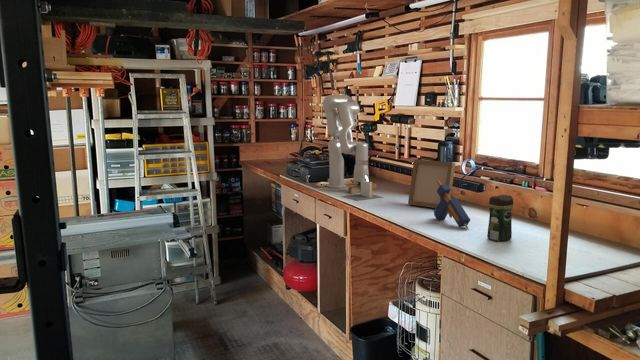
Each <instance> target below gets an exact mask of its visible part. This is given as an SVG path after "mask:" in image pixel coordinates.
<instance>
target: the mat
mask: <svg viewBox="0 0 640 360" xmlns="http://www.w3.org/2000/svg"><path fill="white" fill-rule="evenodd" d="M341 197H342V198H344V199H348V200H350V201H351V200H352V201H355V202H359V201H360V202H361V201H367V200H375V199H383V198H384V196H379V195H377V194H373V193H372V198H369V197H365V196H362V195H361V193H354V194H349V195H341V196H340V198H341Z"/></svg>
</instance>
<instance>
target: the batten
mask: <svg viewBox="0 0 640 360" xmlns="http://www.w3.org/2000/svg"><path fill="white" fill-rule="evenodd" d="M347 191H348V194H349V195H355V194H361V185H349V186H348V189H347ZM374 191H377V183H374V182H372V192H374Z"/></svg>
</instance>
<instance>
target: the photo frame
mask: <svg viewBox="0 0 640 360" xmlns="http://www.w3.org/2000/svg"><path fill="white" fill-rule="evenodd" d="M412 165H413V166H412V172H411V180H410V187H409V193H408V194H409V195H408V200H407V205H412V206H417V207H418V206H419V207H426V208H432V209H436V207H437V206H438V204H439V203H440V200H441V199H440V196H439V194H438V193H437V190H438V188H439V185H438V183H437V182H436V181H437V180H439V181H440V183H441V184H442V185H448V186H449V188H450V189H451V190H450V192H449V194H448V195H449V197H450V198H451V199H452V190H453V184H454V176H455V168H456V163H455V162H453V161H451V162H450V161H439V160H438V161H437V160H428V159H427V160H426V159H413V164H412Z"/></svg>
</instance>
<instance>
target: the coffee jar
mask: <svg viewBox="0 0 640 360" xmlns="http://www.w3.org/2000/svg"><path fill="white" fill-rule="evenodd" d="M488 207H489V219H488V227H487V233H486V234H487V235H486V237H487V239H489V240H490V241H492V242H507V241H509V240H511V239H512V233H513V232H512V229H513V228H512V220H513V219H512V213H513V208H514V198H513V197H512V196H511V195H507V194H499V195H493V196H490V197H489V201H488Z"/></svg>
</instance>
